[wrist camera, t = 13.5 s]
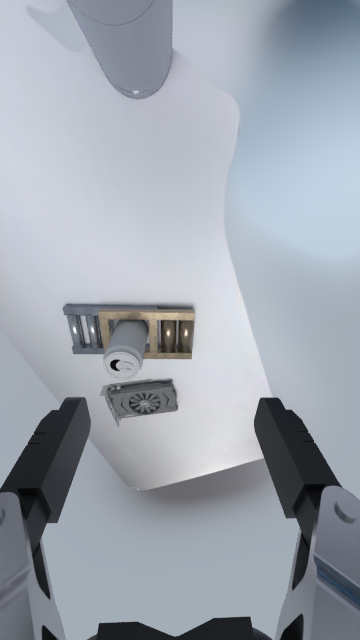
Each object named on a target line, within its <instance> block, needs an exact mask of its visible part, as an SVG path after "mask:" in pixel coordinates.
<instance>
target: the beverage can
mask: <svg viewBox="0 0 360 640" xmlns="http://www.w3.org/2000/svg"><path fill="white" fill-rule="evenodd" d="M147 334H148V329H147V326H146V324H145V323H144V322H143V321H142V320H129V319H121V320H120V321H119V322H118V324H117V326H116V328H115V330H114V333H113V335H112V337H111V340H110V342H109V345H108V347H107V349H106V352H105V354H104V357H103V361H104V369H105V371H106V372H107V373H108V374H109V375H110V376H112V377H114V378H116V379H122V380H124V379H130V378H132V377H134V376H135V375H136V374H137V373H138V371H139V370H140V369H141V367H142V364H143V358H144V352H145V346H146V340H147Z"/></svg>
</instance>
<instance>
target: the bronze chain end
mask: <svg viewBox="0 0 360 640" xmlns="http://www.w3.org/2000/svg"><path fill="white" fill-rule="evenodd" d="M98 313H99V319H100V326H101V332H102V339H103V345H104V352H106V349H107V347H108V345H109V342H110V340H111V337H112V330H111V322H110V319H129V320H149V337H150V349H145V352H144V358H143V359H192V347H193V332H194V318H195V317H194V315H195V312H194V310H178V309H110V308H101V309H100V310H99V312H98ZM157 320H161V349H158V323H157ZM176 320H179V335H178V349H176Z"/></svg>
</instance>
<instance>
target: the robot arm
mask: <svg viewBox="0 0 360 640" xmlns="http://www.w3.org/2000/svg"><path fill="white" fill-rule="evenodd" d="M66 1H67V3H68V5H69V7H70V9H71V11H72V12H73V14H74V16H75V18H76V20H77V22H78V23H79V26H80V28H81V30H82V31H83V33H84V35H85V37H86V39H87V41H88V43H89V45H90V47H91V49H92V50H93V52H94V54H95V56H96V58H97V60H98V62H99V64H100V66H101V68H102V70H103V71H104V73H105V75H106V77H107V78H108V80H109V81H110V83H111V84H112V85H113V86H114V87H115V88H116V89H117V90H118V91H119V92H121V93H122V94H124V95H126V96H128V97H131V98H136V99H139V98H145V97H148V96H151V95H152V94H153V93H155V92H156V91H157V90H158V89H159V88H160V87H161V86H162V84H163V83H164V81H165V79H166V77H167V75H168V72H169V69H170V65H171V58H172V0H66ZM90 426H91V420H90V415H89V411H88V407H87V402H86V399H85V398H84V397H67V398H65V400H64V401H63V403H62V405H61V407H60V409H59V410H52V411H51V412H50V413H49V414H48V415H46V416H45V417H44V418H43V419H42V420H41V422H40V423H39V425H38V427H37V428H36V430H35V432H34V435H32V437H31V439H30V440H29V442H28V445H27V446H26V447H25V448H24V450H23V452H22V454H21V456H20V457H19V459H18V460H17V462H16V464H15V465H14V467H13V469H12V470H11V472H10V474H9V475H8V477H7V479H6V480H5V482H4V484H3V485H2V487H1V489H0V640H66V639H65V634H64V630H63V626H62V622H61V618H60V615H59V612H58V610H57V607H56V604H55V600H54V596H53V591H52V586H51V582H50V577H49V572H48V567H47V562H46V557H45V553H44V548H43V543H42V538H41V537H42V534H43V532H44V529H45V526H46V524H47V523H57V522H58V520H59V517H60V514H61V511H62V508H63V506H64V502H65V500H66V497H67V494H68V491H69V488H70V486H71V483H72V480H73V477H74V475H75V472H76V469H77V466H78V463H79V460H80V458H81V455H82V452H83V449H84V446H85V444H86V441H87V438H88V435H89V432H90ZM254 429H255V433H256V436H257V439H258V442H259V444H260V447H261V450H262V453H263V455H264V458H265V461H266V464H267V466H268V469H269V472H270V475H271V478H272V480H273V483H274V486H275V489H276V491H277V494H278V497H279V500H280V503H281V505H282V508H283V511H284V514H285V516H286V518H297V521H298V524H299V526H300V529H299V532H298V538H297V543H296V549H295V554H294V559H293V565H292V570H291V576H290V581H289V586H288V591H287V594H286V598H285V600H284V603H283V606H282V609H281V613H280V617H279V622H278V626H277V632H276V637H275V640H360V500H359V499H358V498H357V497H356V496H354V495H353V494H352V493H351V492H349V491H348V490H346V489H344V488H342V486H341V485H340V483H339V482H338V481H337V479H336V477H335V475H334V474H333V472H332V470H331V469H330V467H329V465H328V464H327V462H326V460H325V458H324V457H323V455H322V453H321V452H320V450H319V448H318V447H317V445H316V443H314V440H313V438H312V437H311V435H310V433H308V430H307V428H306V427H305V425H304V423H303V421H302V420H301V419H300V418H299V417H298V416H297V415H296V414H295V413H294V412H293V411H292V410H286V409H285V408H284V406H283V404H282V402H281V400H280V399H279V398H260V400H259V404H258V408H257V411H256V415H255V419H254ZM88 640H272V639H271V638H270V637H268V636H267V635H266V634H264V633H262V632H261V631H259V630H257V629H255V628H253V627H252V623H251V618H250V617H231V618H213V619H211V620H210V621H208V622H206V623H204V624H202V625H200V626H198V627H196V628H194V629H192V630H190V631H188V632H186V633H184V634H182V635H180V636H176V637H174V636H171V635H168V634H166V633H163V632H161V631H159V630H156V629H154V628H151V627H149V626H146V625H144V624H142V623H139V622H121V623H120V622H118V623H99V627H98V633H97V634H96V635H94V636H92V637H91V638H89V639H88Z"/></svg>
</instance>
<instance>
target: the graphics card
mask: <svg viewBox="0 0 360 640" xmlns="http://www.w3.org/2000/svg"><path fill="white" fill-rule="evenodd" d="M149 380H152V379H148V380H140V381H133V382H125V383H117V384H110V385H108V386H106V387H105V386H103V387H104V388H103V389H102V392H101V393H102V394H100V397H102V396H105V400H106V402H107V404H108V407H109V409H110V411H111V414H112V416H113V418H114V415H115V418H114V421H115V423H116V425H117V427H119V421H120V420H121V418H127V417H135V416H142V415H150V414H157V413H165V412H172V411H177V410H178V405H177V404H176V394H175V392H174V390H173V384H172V383H166V384H162V383H161V382H159V383H152V384H144V385H141V384H143V383H145V382H147V381H149ZM103 391H104V392H103ZM167 400H168V401H167ZM109 405H110V406H109ZM111 406H112V408H111ZM150 408H151V409H150ZM112 409H113V412H114V415H113V412H112ZM145 409H146V410H145Z"/></svg>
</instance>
